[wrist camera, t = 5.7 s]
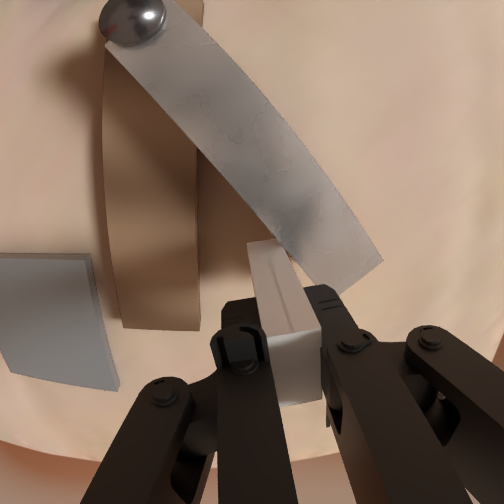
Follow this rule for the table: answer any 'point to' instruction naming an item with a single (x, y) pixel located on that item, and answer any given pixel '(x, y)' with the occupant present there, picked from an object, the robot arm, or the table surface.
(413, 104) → the table surface
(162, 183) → the base
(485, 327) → the table surface
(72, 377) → the slate pad
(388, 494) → the robot arm
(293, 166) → the bar
